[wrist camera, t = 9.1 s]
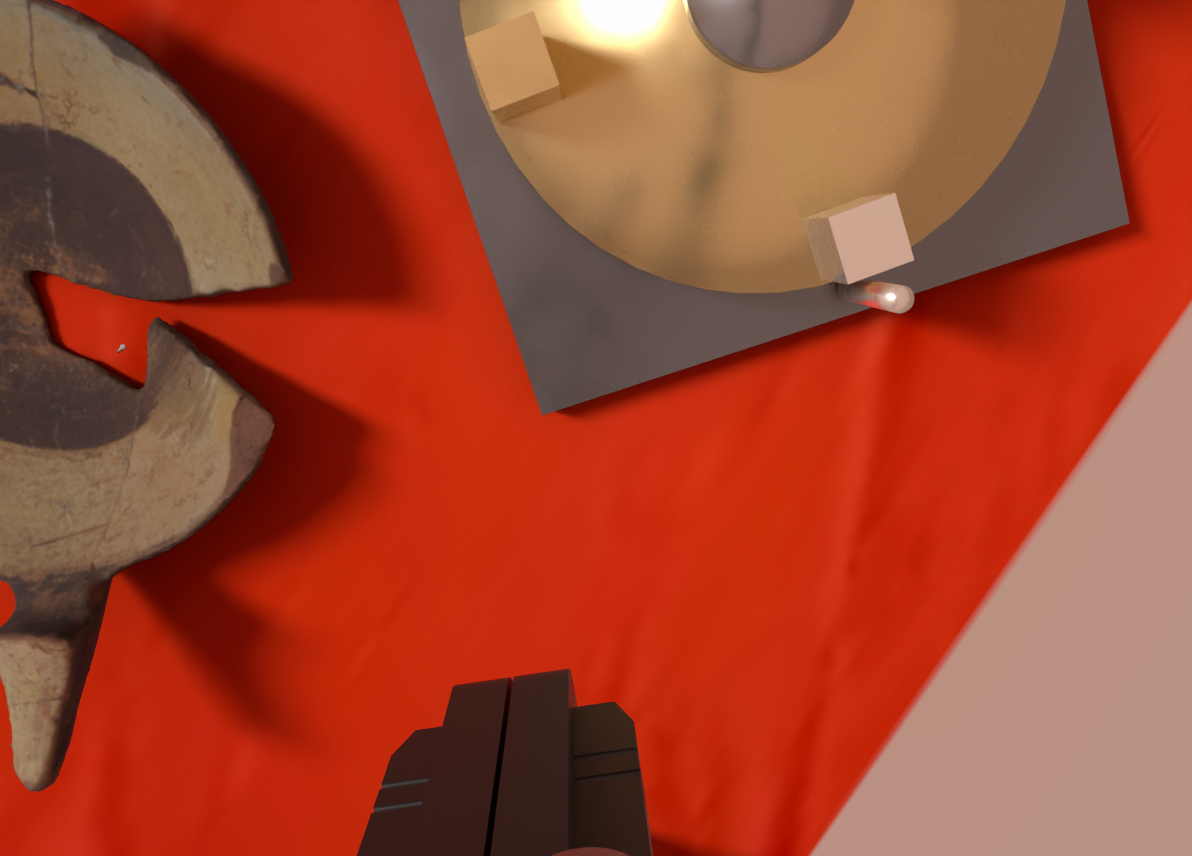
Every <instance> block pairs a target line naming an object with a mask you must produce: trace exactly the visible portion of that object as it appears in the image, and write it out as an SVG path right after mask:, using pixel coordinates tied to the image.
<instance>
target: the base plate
mask: <svg viewBox="0 0 1192 856" xmlns="http://www.w3.org/2000/svg"><path fill="white" fill-rule="evenodd" d="M398 1H399V4H400V7H401V10H402V13H403V15H404V18H405V21H406V24H407V27H408V30H409V33H410V36H411V38H412V41H413V44H414V47H415V50H416V53H417V56H418V59H419V61H420V64H421V67H422V70H423V73H424V76H425V79H426V82H427V85H428V87H429V90H430V93H431V96H432V99H433V102H434V105H435V108H436V110H437V113H438V116H439V119H440V122H441V125H442V128H443V131H444V133H445V136H446V139H447V142H448V145H449V148H450V151H451V154H452V156H453V159H454V162H455V165H456V168H457V171H458V174H459V177H460V180H461V182H462V185H463V188H464V191H465V194H466V197H467V200H468V203H469V205H470V208H471V211H472V214H473V217H474V220H475V223H476V226H477V228H478V231H479V234H480V237H481V240H482V243H483V246H484V249H485V251H486V254H487V257H488V260H489V263H490V266H491V269H492V272H493V275H494V277H495V280H496V283H497V286H498V289H499V292H500V295H501V298H502V300H503V303H504V306H505V309H506V312H507V315H508V318H509V321H510V323H511V326H512V329H513V332H514V335H515V338H516V341H517V344H518V346H519V349H520V352H521V355H522V358H523V361H524V364H525V367H526V370H527V372H528V375H529V378H530V381H531V384H532V387H533V390H534V393H535V395H536V398H537V401H538V404H539V407H540V410H541V413H542V415H545V414H548V413H551V412H554V411H557V410H560V409H563V408H566V407H569V406H572V405H575V404H578V403H581V402H585V401H588V400H591V399H594V398H597V397H600V396H603V395H606V394H609V393H612V392H615V391H618V390H621V389H624V388H627V387H630V386H634V385H637V384H640V383H643V382H646V381H649V380H652V379H655V378H658V377H661V376H664V375H667V374H670V373H673V372H676V371H679V370H682V369H686V368H689V367H692V366H695V365H698V364H701V363H704V362H707V361H710V360H713V359H716V358H719V357H722V356H725V355H728V354H731V353H735V352H738V351H741V350H744V349H747V348H750V347H753V346H756V345H759V344H762V343H765V342H768V341H771V340H774V339H777V338H780V337H783V336H787V335H790V334H793V333H796V332H799V331H802V330H805V329H808V328H811V327H814V326H817V325H820V324H823V323H826V322H829V321H832V320H836V319H839V318H842V317H845V316H848V315H851V314H854V313H857V312H860V311H863V310H866V309H869V308H872V307H874V308H878V309H882V310H886V311H890V312H894V313H904V312H906V311H908V310H909V309H910V308H911V307H912V305H913V303H914V294H915V293H918V292H921V291H924V290H927V289H930V288H933V287H937V286H940V285H943V284H946V283H949V282H952V281H955V280H958V279H961V278H964V277H967V276H970V275H973V274H976V273H979V272H982V271H985V270H989V269H992V268H995V267H998V266H1001V265H1004V264H1007V263H1010V262H1013V261H1016V260H1019V259H1022V258H1025V257H1028V256H1031V255H1034V254H1038V253H1041V252H1044V251H1047V250H1050V249H1053V248H1056V247H1059V246H1062V245H1065V244H1068V243H1071V242H1074V241H1077V240H1080V239H1083V238H1086V237H1090V236H1093V235H1096V234H1099V233H1102V232H1105V231H1108V230H1111V229H1114V228H1117V227H1120V226H1123V225H1126V224H1129V217H1128V212H1127V207H1126V202H1125V196H1124V191H1123V186H1122V181H1121V175H1120V170H1119V165H1118V160H1117V154H1116V149H1115V144H1114V139H1113V133H1112V128H1111V123H1110V118H1109V112H1108V107H1107V102H1106V97H1105V91H1104V86H1103V81H1102V76H1101V70H1100V65H1099V60H1098V55H1097V49H1096V44H1095V39H1094V34H1093V28H1092V23H1091V18H1090V13H1089V7H1088V2H1087V0H1066V3H1065V8H1064V13H1063V18H1062V23H1061V28H1060V32H1059V37H1058V42H1057V46H1056V49H1055V52H1054V55H1053V58H1052V61H1051V64H1050V67H1049V70H1048V73H1047V76H1046V79H1045V82H1044V85H1043V87H1042V89H1041V91H1040V93H1039V95H1038V98H1037V100H1036V102H1035V104H1034V106H1033V108H1032V111H1031V113H1030V115H1029V117H1028V119H1027V121H1026V123H1025V125H1024V126H1023V128H1022V130H1021V131H1020V133H1019V134H1018V136H1017V138H1016V139H1015V141H1014V143H1013V144H1012V146H1011V147H1010V149H1009V151H1008V152H1007V154H1006V156H1005V157H1004V158H1003V160H1002V161H1001V162H1000V163H999V165H998V166H997V167H996V168H995V170H994V171H993V172H992V174H991V175H990V176H989V177H988V179H987V180H986V181H985V182H984V184H983V185H982V186H981V188H980V189H979V190H978V191H977V192H976V193H975V194H974V195H973V196H972V197H971V198H970V199H969V200H968V201H967V202H966V203H965V204H964V205H963V206H962V207H961V208H960V209H959V210H958V211H957V212H956V213H955V214H954V215H953V216H952V217H950V218H949V219H948V220H946V221H945V222H944V223H943V224H941V225H940V226H939V227H938V228H936V229H935V230H934V231H932V232H931V233H930V234H929V235H927V236H926V237H925V238H923V239H922V240H921V241H919V242H918V243H916V244H914V245H913V246H911V250H912V254H913V257H914V261H911V262H908V263H905V264H903V265H900V266H897V267H894V268H892V269H889V270H886V271H884V272H881V273H878V274H875V275H873V276H870V277H867V278H864V279H862V280H859V281H856V282H853V283H851V284H843V283H837V282H830V283H827V284H824V285H820V286H817V287H811V288H805V289H798V290H792V291H786V292H780V293H733V292H724V291H715V290H706V289H701V288H697V287H693V286H689V285H685V284H681V283H677V282H673V281H669V280H666V279H664V278H661V277H659V276H656V275H654V274H651V273H649V272H646V271H644V270H641V269H639V268H636V267H634V266H632V265H630V264H628V263H626V262H624V261H623V260H621V259H619V258H617V257H615V256H614V255H612V254H610V253H608V252H606V251H605V250H603V249H601V248H599V247H598V246H596V245H595V244H594V243H592V242H591V241H590V240H588V239H587V238H586V237H584V236H583V235H582V234H580V233H579V232H578V231H576V230H575V229H574V228H572V227H571V226H570V225H569V224H568V223H567V222H566V221H565V220H564V219H563V218H562V217H561V216H560V215H559V214H558V213H556V212H555V211H554V210H553V209H552V208H551V207H550V206H549V205H548V204H547V203H546V202H545V201H544V200H543V198H542V197H541V196H540V194H539V193H538V192H537V191H536V189H535V188H534V187H533V186H532V184H531V183H530V182H529V181H528V179H527V178H526V177H525V176H524V174H523V173H522V172H521V171H520V169H519V168H518V167H517V165H516V163H515V162H514V160H513V158H512V157H511V155H510V153H509V152H508V150H507V148H506V147H505V145H504V143H503V142H502V140H501V138H500V137H499V135H498V134H497V132H496V129H495V127H494V125H493V123H492V120H491V118H490V116H489V114H488V111H487V109H486V107H485V105H484V102H483V100H482V98H481V96H480V93H479V90H478V86H477V83H476V80H475V77H474V73H473V70H472V67H471V63H470V60H469V57H468V53H467V47H466V42H465V39H464V38H465V36H464V30H463V25H462V19H461V13H460V0H398Z"/></svg>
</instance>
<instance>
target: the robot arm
mask: <svg viewBox="0 0 1192 856" xmlns="http://www.w3.org/2000/svg"><path fill="white" fill-rule="evenodd" d="M357 856H653V851H652V844H651V836H650V828H649V822H648V815H647V808H646V801H645V794H644V787H643V781H642V774H641V767H640V760H639V753H638V747H637V740H636V733H635V726H634V721H633V720H632V719H631V718H630V717H629V716H628V715H627V714H626V713H625V712H624V711H623V710H622V709H621V708H620V707H619V706H618V705H617V704H616V703H615V702H608V703H601V704H594V705H587V706H580V707H577V703H576V696H575V690H574V684H573V679H572V674H571V671H570V669H563V670H556V671H549V672H542V673H536V674H529V675H522V676H515V677H514V678H513V681H512V679H511V678H510V677H509V678H502V679H495V680H488V681H481V682H474V683H467V684H460V685H455V686H454V687H453V689H452V692H451V696H450V700H449V704H448V707H447V711H446V715H445V719H444V723H443V727H436V728H429V729H422V730H416V731H415V732H414V733H413V734H412V735H411V736H410V737H409V738H408V739H407V740H406V741H405V742H404V743H403V744H402V745H401V746H400V748H399V749H398V750H397V751H396V752H395V753H394V754H393V755H392V756H391V758H390V761H389V764H388V767H387V770H386V773H385V776H384V779H383V781H382V789H381V790H379V793H378V796H377V799H376V802H375V805H374V813H371V816H370V819H369V822H368V825H367V828H366V831H365V834H364V837H363V839H362V842H361V845H360V848H359V851H358V854H357Z"/></svg>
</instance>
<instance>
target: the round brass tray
mask: <svg viewBox="0 0 1192 856" xmlns="http://www.w3.org/2000/svg"><path fill="white" fill-rule="evenodd" d="M1065 3H1066V0H460V13H461V19H462V25H463V30H464V36H465V38H464V39H465V42H466V47H467V53H468V57H469V60H470V63H471V67H472V70H473V73H474V77H475V80H476V83H477V86H478V90H479V93H480V96H481V98H482V100H483V102H484V105H485V107H486V109H487V111H488V114H489V116H490V118H491V120H492V123H493V125H494V127H495V129H496V132H497V134H498V135H499V137H500V138H501V140H502V142H503V143H504V145H505V147H506V148H507V150H508V152H509V153H510V155H511V157H512V158H513V160H514V162H515V163H516V165H517V167H518V168H519V169H520V171H521V172H522V173H523V174H524V176H525V177H526V178H527V179H528V181H529V182H530V183H531V184H532V186H533V187H534V188H535V189H536V191H537V192H538V193H539V194H540V196H541V197H542V198H543V200H544V201H545V202H546V203H547V204H548V205H549V206H550V207H551V208H552V209H553V210H554V211H555V212H556V213H558V214H559V215H560V216H561V217H562V218H563V219H564V220H565V221H566V222H567V223H568V224H569V225H570V226H571V227H572V228H574V229H575V230H576V231H578V232H579V233H580V234H582V235H583V236H584V237H586V238H587V239H588V240H590V241H591V242H592V243H594V244H595V245H596V246H598V247H599V248H601V249H603V250H605V251H606V252H608V253H610V254H612V255H614V256H615V257H617V258H619V259H621V260H623V261H624V262H626V263H628V264H630V265H632V266H634V267H636V268H639V269H641V270H644V271H646V272H649V273H651V274H654V275H656V276H659V277H661V278H664V279H666V280H669V281H673V282H677V283H681V284H685V285H689V286H693V287H697V288H701V289H706V290H715V291H724V292H733V293H780V292H786V291H792V290H798V289H805V288H811V287H817V286H820V285H824V284H827V283H830V282H837V283H843V284H851V283H853V282H856V281H859V280H862V279H864V278H867V277H870V276H873V275H875V274H878V273H881V272H884V271H886V270H889V269H892V268H894V267H897V266H900V265H903V264H905V263H908V262H911V261H914V257H913V254H912V250H911V246H913V245H914V244H916V243H918V242H919V241H921V240H922V239H923V238H925V237H926V236H927V235H929V234H930V233H931V232H932V231H934V230H935V229H936V228H938V227H939V226H940V225H941V224H943V223H944V222H945V221H946V220H948V219H949V218H950V217H952V216H953V215H954V214H955V213H956V212H957V211H958V210H959V209H960V208H961V207H962V206H963V205H964V204H965V203H966V202H967V201H968V200H969V199H970V198H971V197H972V196H973V195H974V194H975V193H976V192H977V191H978V190H979V189H980V188H981V186H982V185H983V184H984V182H985V181H986V180H987V179H988V177H989V176H990V175H991V174H992V172H993V171H994V170H995V168H996V167H997V166H998V165H999V163H1000V162H1001V161H1002V160H1003V158H1004V157H1005V156H1006V154H1007V152H1008V151H1009V149H1010V147H1011V146H1012V144H1013V143H1014V141H1015V139H1016V138H1017V136H1018V134H1019V133H1020V131H1021V130H1022V128H1023V126H1024V125H1025V123H1026V121H1027V119H1028V117H1029V115H1030V113H1031V111H1032V108H1033V106H1034V104H1035V102H1036V100H1037V98H1038V95H1039V93H1040V91H1041V89H1042V87H1043V85H1044V82H1045V79H1046V76H1047V73H1048V70H1049V67H1050V64H1051V61H1052V58H1053V55H1054V52H1055V49H1056V46H1057V42H1058V37H1059V32H1060V28H1061V23H1062V18H1063V13H1064V8H1065Z"/></svg>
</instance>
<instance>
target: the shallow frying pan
mask: <svg viewBox="0 0 1192 856" xmlns="http://www.w3.org/2000/svg"><path fill="white" fill-rule="evenodd" d="M37 270H38V271H42V272H46V273H50V274H54V275H58V276H61V277H63V278H65V279H67V280H69V281H70V282H72V283H75V284H81V285H86V286H89V287H91V288H93V289H94V288H95V289H99V290H102V291H106V292H109V293H111V294H112V295H119V296H125V297H128V298H136V299H141V300H147V301H153V302H154V301H156V302H158V301H162V300H183V299H192V298H196V297H216V296H218V295H222V294H225V293H227V292H245V291H250V290H255V289H258V288H264V289H268V288H273V287H277V286H281V285H285V284H288V283H290V282H292V281H293V280H294V279H293V275H292V270H291V265H290V261H289V259H288V256H287V253H286V249H285V246H284V243H283V241H282V238H281V234H280V232H279V230H278V228H277V225H276V222H275V219H274V216H273V214H272V212H271V210H270V208H269V206H268V204H267V202H266V200H265V198H264V196H263V194H262V192H261V190H260V188H259V186H258V185H257V183H256V181H255V179H254V178H253V176H252V174H251V173H250V171H249V170H248V168H247V167H246V165H245V163H244V162H243V161H242V159H241V157H240V156H239V155H238V153H237V151H236V150H235V148H234V146H233V145H232V144H231V142H230V141H229V139H228V138H227V137H226V135H225V134H224V133H223V131H222V130H221V129H220V127H219V126H218V124H217V123H216V122H215V121H214V119H213V118H212V117H211V116H210V114H209V113H208V112H207V111H206V110H205V109H204V108H203V107H202V106H201V105H200V104H199V103H198V102H197V101H196V100H195V99H194V97H193V96H192V95H191V94H190V93H189V92H188V91H187V90H186V88H184V87H183V86H182V85H181V84H180V83H179V82H178V81H177V80H175V78H174V77H173V76H171V75H170V74H169V73H168V72H167V71H166V70H165V69H164V68H163V67H162V66H160V65H159V64H158V63H157V62H156V61H155V60H153V59H152V58H151V57H150V56H148V55H147V54H146V53H145V52H143V51H142V50H141V49H139V48H138V47H137V46H136V45H135V44H133V43H132V42H130V41H128V40H126V39H125V38H123V37H122V36H120V35H119V34H117V33H116V32H114V31H113V30H111V29H109V28H108V27H106V26H104V25H103V24H101V23H99V22H98V21H96V20H94V19H93V18H91V17H89V16H87V15H85V14H83V13H81V12H79V11H77V10H75V9H73V8H72V7H70V6H66V5H63V4H61V3H59V2H56V1H53V0H0V580H2V581H5V582H7V583H8V584H9V585H10V586H11V588H12V590H13V592H14V594H15V602H16V607H15V611H13V614H12V616H11V617H10V618H9V620H8V621H7V622H6V623H5V624H4V625H3V626H1V627H0V677H1V680H2V683H3V685H4V688H5V692H6V697H7V704H8V709H9V713H10V717H9V720H10V722H11V726H12V744H11V745H10V746H11V747H12V749H13V763H14V769H15V772H16V774H17V776H18V778H19V779H20V780H21V782H22V783H23V784H24V786H25V787H26V788H27V789H28V790H30V791H41V790H44V789H45V788H47V787H48V786H50V785H51V784H52V783H54V782H55V780H56V778H57V777H58V775H59V771H60V769H61V767H62V764H63V761H64V758H65V755H66V752H67V750H68V747H69V744H70V741H71V736H72V732H73V728H74V723H75V720H76V714H77V710H78V706H79V702H80V698H81V695H82V691H83V688H84V685H85V681H86V677H87V675H88V672H89V670H90V665H91V662H92V659H93V655H94V651H95V648H96V644H97V640H98V636H99V631H100V628H101V624H102V620H103V616H104V612H105V607H106V602H107V598H108V593H109V589H110V586H111V582H112V578H113V577H114V576H115V575H116V574H118V573H119V572H120V571H122V570H124V569H125V568H127V567H129V566H131V565H134V564H136V563H138V562H140V561H143V560H148V559H150V558H153V557H155V556H157V555H159V554H161V553H163V552H166V551H169V550H170V549H172V548H173V547H175V546H177V545H178V544H180V543H182V542H184V541H186V540H188V539H189V538H190V537H191V536H193V535H194V534H195V533H196V532H198V531H199V530H200V529H202V528H203V527H204V526H206V525H207V524H208V523H209V522H210V521H211V520H212V519H213V518H214V517H216V516H217V515H218V514H219V513H220V512H222V510H223V509H224V508H225V507H226V506H227V505H228V504H229V503H230V502H231V501H232V500H233V499H234V498H235V497H236V496H237V495H238V494H239V492H240V491H241V490H242V489H243V487H244V486H245V485H246V483H247V482H248V481H249V480H250V478H251V477H252V476H253V475H254V473H255V472H256V470H257V469H258V468H259V466H260V464H261V461H262V458H263V455H264V453H265V452H266V448H267V446H268V442H269V441H270V439H271V438H272V435H273V430H274V426H275V423H274V418H273V416H272V415H271V413H270V412H269V411H268V410H266V409H265V408H264V407H263V406H262V404H261V403H260V402H259V401H258V400H257V399H256V397H254V396H253V395H252V394H251V393H250V392H249V391H247V390H245V389H243V388H242V387H241V386H240V384H239V383H238V382H237V381H235V379H234V378H233V377H232V376H231V375H230V373H228V372H227V371H225V370H223V369H222V368H221V367H220V366H219V365H217V363H216V361H215V360H213V359H212V358H210V357H208V356H207V355H205V354H204V353H202V352H201V351H200V350H199V349H198V348H197V346H195V345H194V344H193V342H192V340H191V339H190V338H188V337H186V336H185V335H183V334H181V333H180V332H178V331H177V330H176V329H175V328H174V327H173V326H172V325H169V324H168V323H167V322H164V321H163V320H162V319H160V318H158V317H156V318H155V319H154V320H153V322H151V324H150V326H149V330H148V333H147V337H148V346H147V352H148V363H147V375H146V382H145V385H144V387H142V388H140V389H136V388H134V387H132V386H131V385H130V384H129V383H128V382H127V381H126V380H125V379H123V378H120V377H118V376H116V375H114V374H113V373H111V372H110V371H109V370H106V369H105V368H103V367H101V366H100V365H98V364H97V363H96V362H94V361H90V360H87V359H85V358H84V357H80V356H77V355H75V354H73V353H71V352H69V351H66V350H65V349H63V348H62V347H60V346H58V345H57V344H56V343H55V342H54V339H53V338H52V336H51V334H50V330H49V329H48V320H47V318H46V316H45V315H44V313H43V310H42V308H41V305H40V302H39V299H38V296H37V291H36V289H35V288H34V287H33V286H32V284H31V280H30V275H31V272H32V271H37ZM122 349H126V347H125V345H124V344H121V346H120V348H119V349H118V351H120V350H122ZM118 351H117V352H118ZM117 352H116V353H117Z"/></svg>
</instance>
